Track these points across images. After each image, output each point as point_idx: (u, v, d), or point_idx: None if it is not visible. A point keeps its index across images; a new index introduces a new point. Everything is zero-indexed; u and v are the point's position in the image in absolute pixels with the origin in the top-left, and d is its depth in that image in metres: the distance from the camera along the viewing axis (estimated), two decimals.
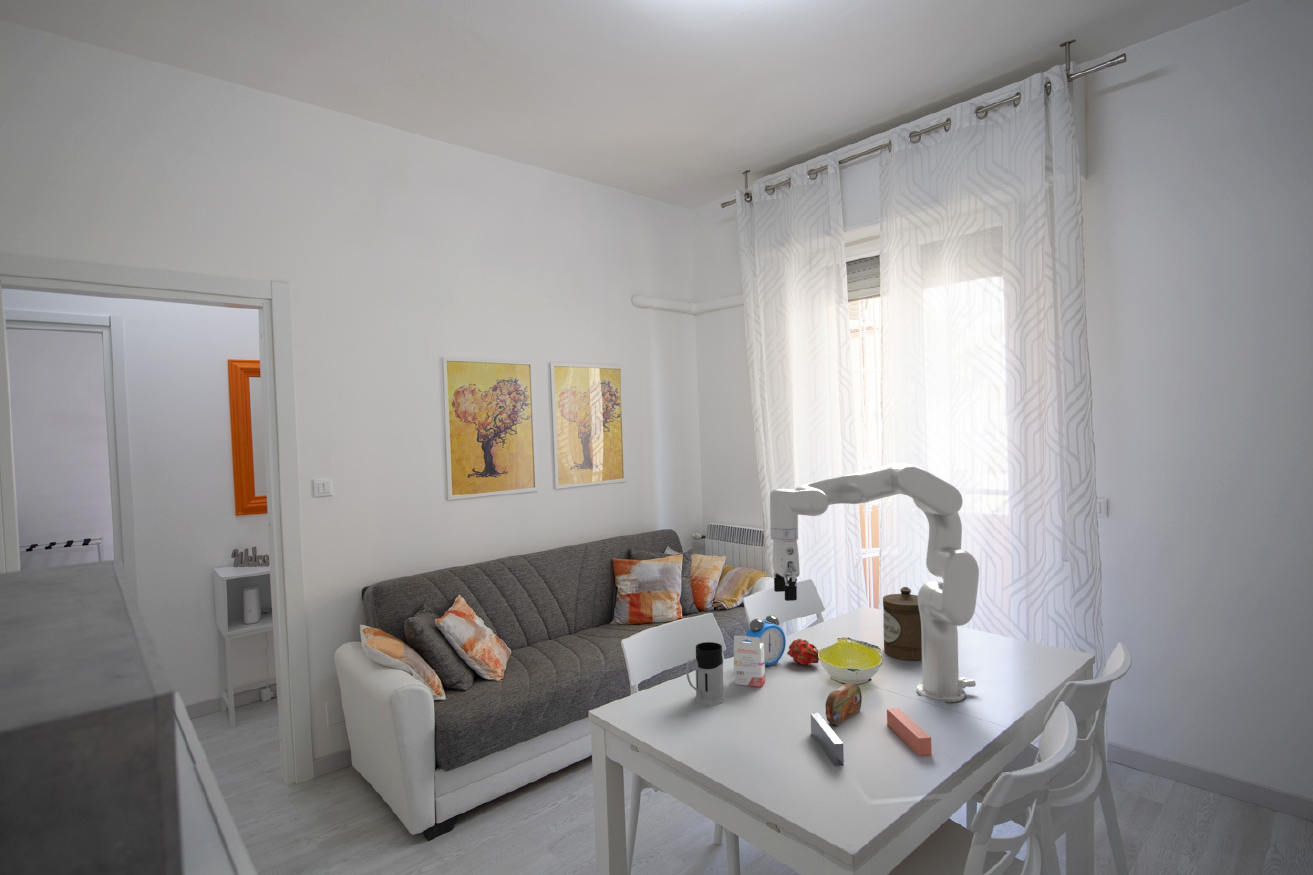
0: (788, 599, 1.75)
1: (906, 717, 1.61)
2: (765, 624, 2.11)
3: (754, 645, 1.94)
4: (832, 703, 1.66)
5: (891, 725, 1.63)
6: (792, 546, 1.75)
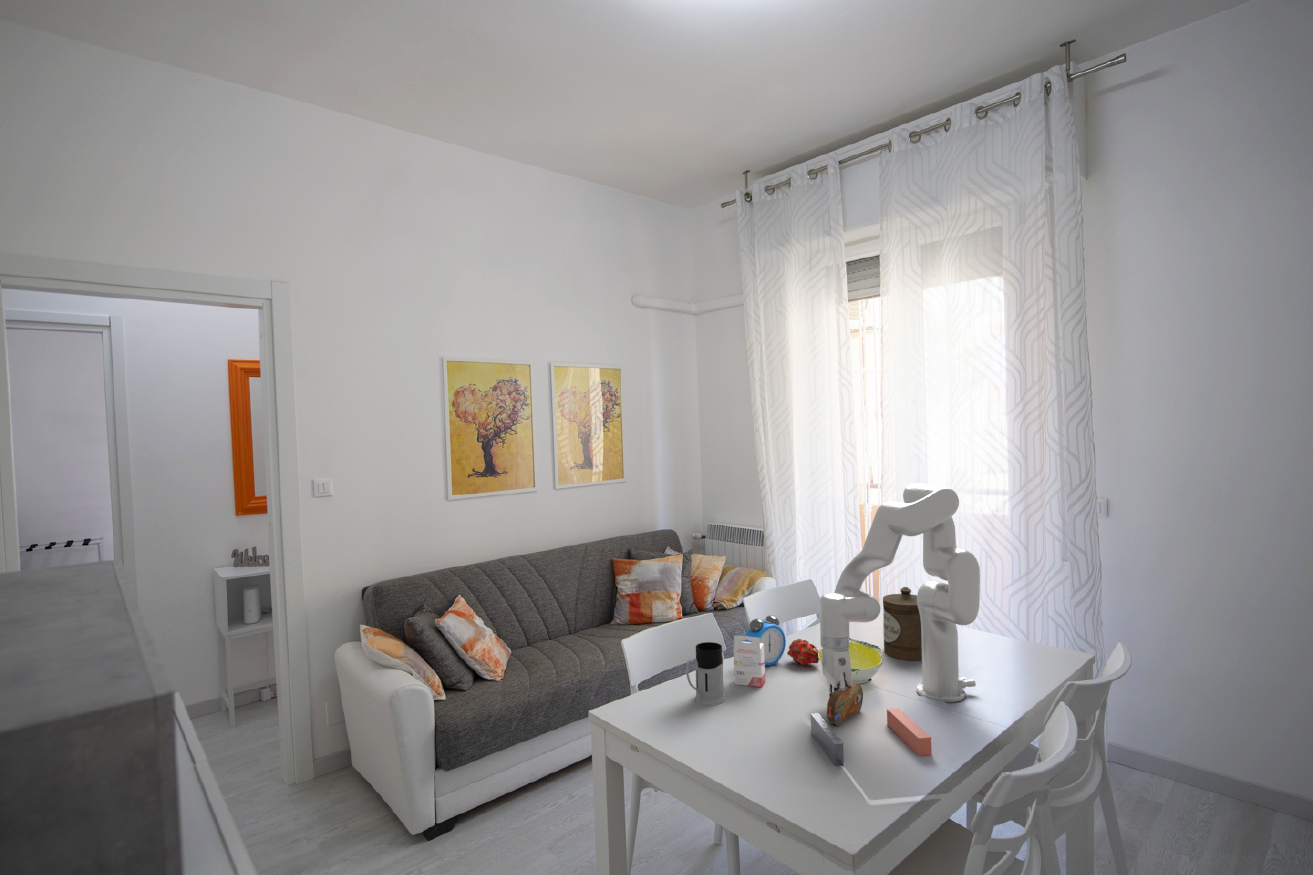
0: None
1: (906, 717, 1.61)
2: (765, 624, 2.11)
3: (754, 645, 1.94)
4: (834, 703, 1.65)
5: (891, 725, 1.63)
6: (844, 656, 1.71)
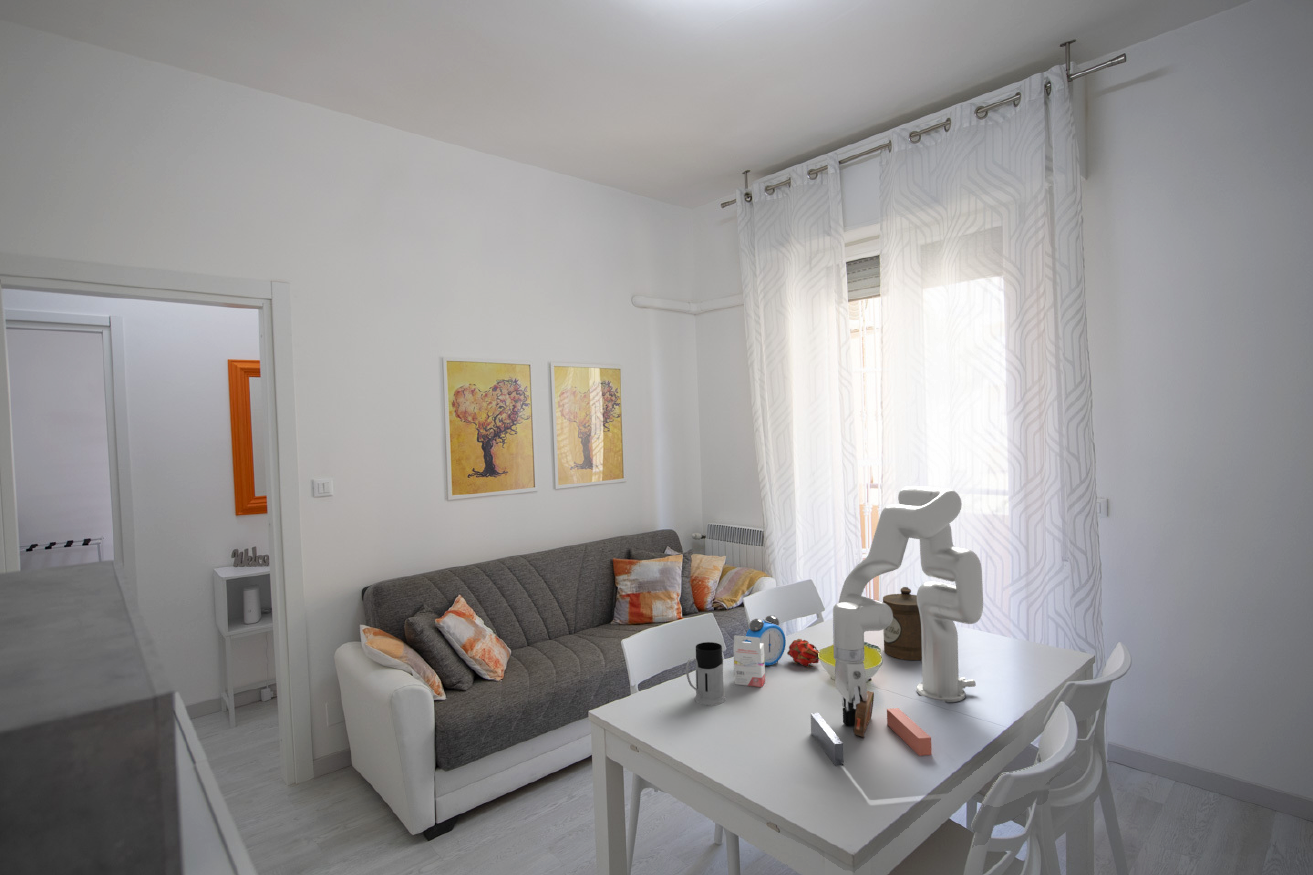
0: (848, 724, 1.65)
1: (906, 717, 1.61)
2: (765, 624, 2.11)
3: (754, 645, 1.94)
4: (863, 715, 1.58)
5: (891, 725, 1.63)
6: (859, 669, 1.61)
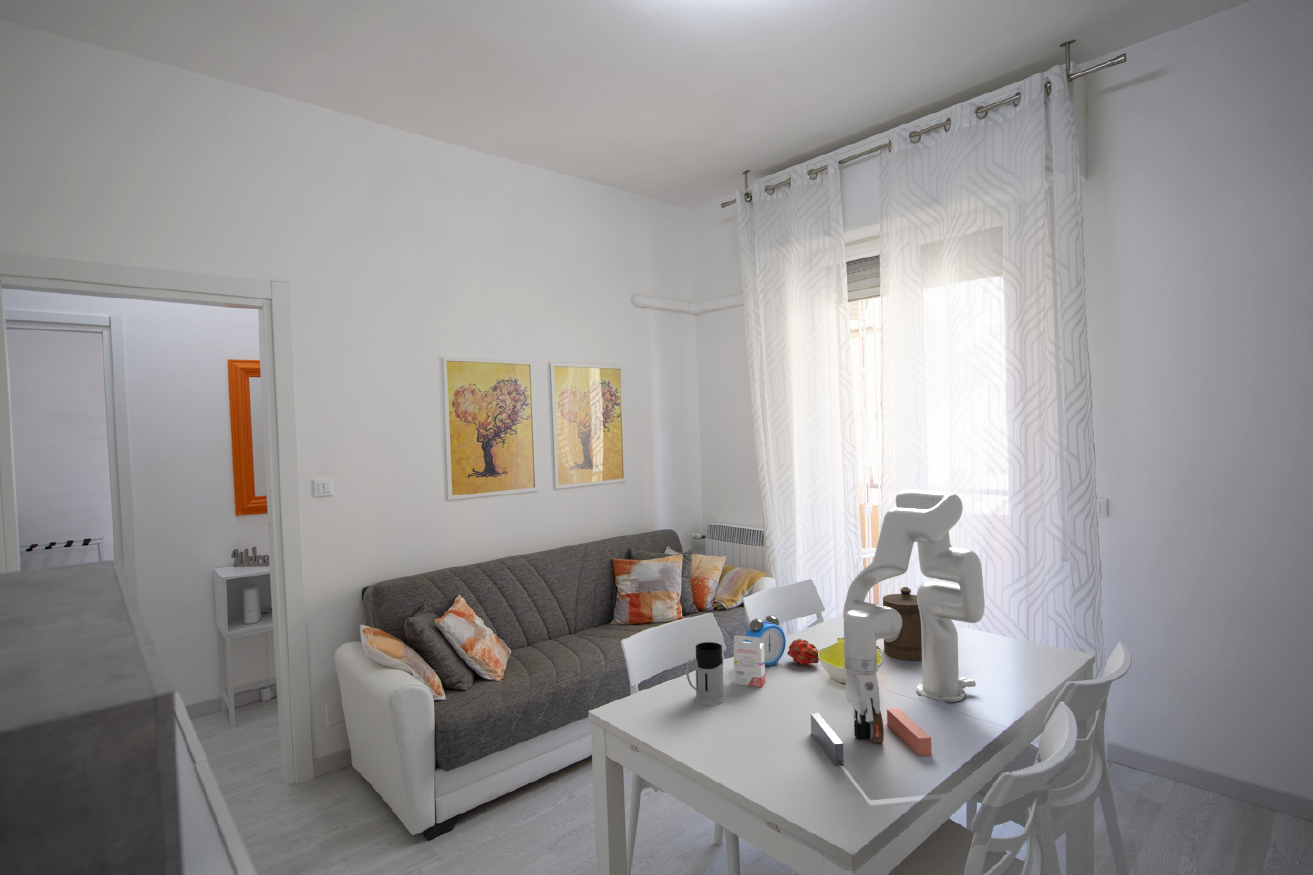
0: (860, 737, 1.58)
1: (906, 717, 1.61)
2: (765, 624, 2.11)
3: (754, 645, 1.94)
4: (880, 720, 1.55)
5: (891, 725, 1.63)
6: (872, 680, 1.54)
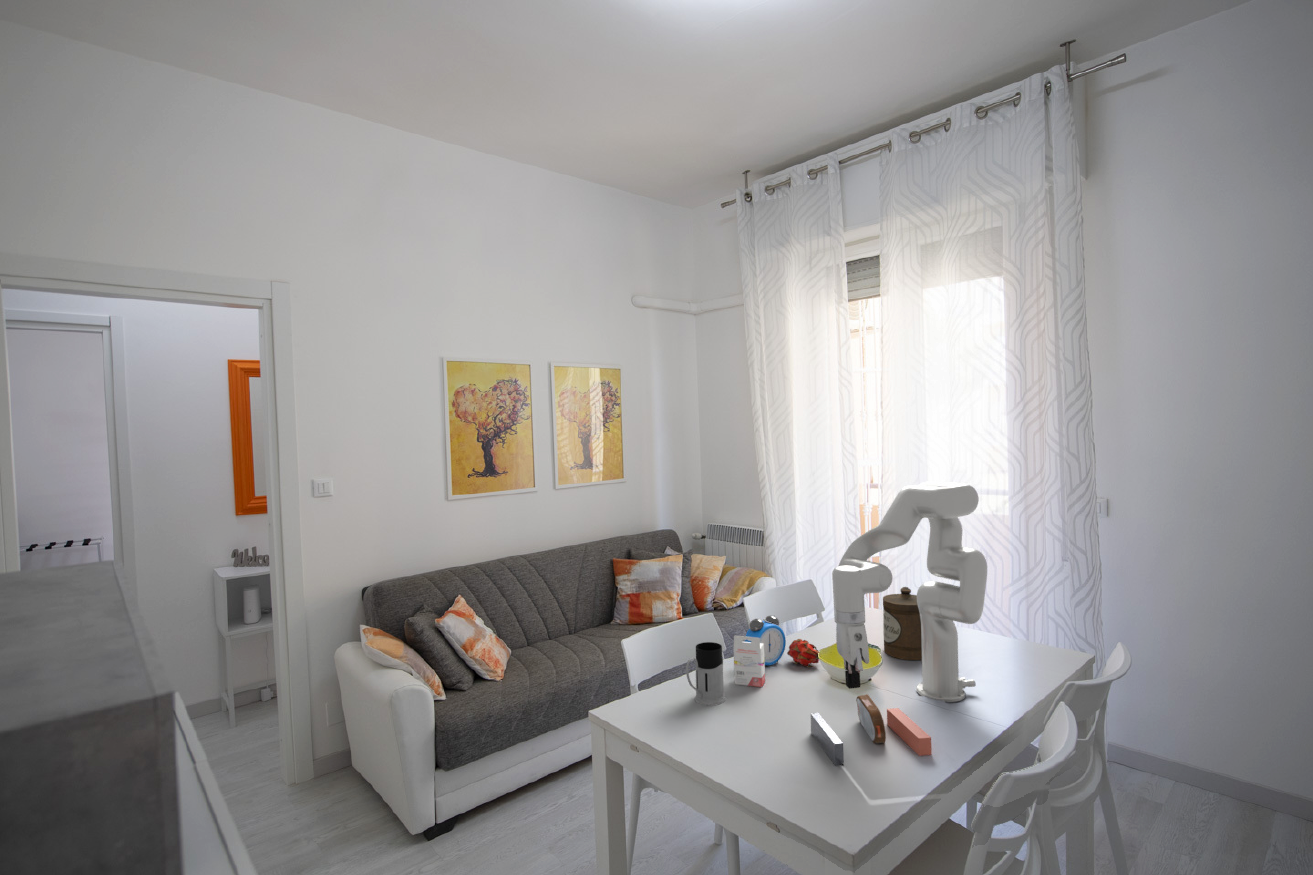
0: (851, 687, 1.65)
1: (906, 717, 1.61)
2: (765, 624, 2.11)
3: (754, 645, 1.94)
4: (880, 720, 1.55)
5: (891, 725, 1.63)
6: (860, 631, 1.61)
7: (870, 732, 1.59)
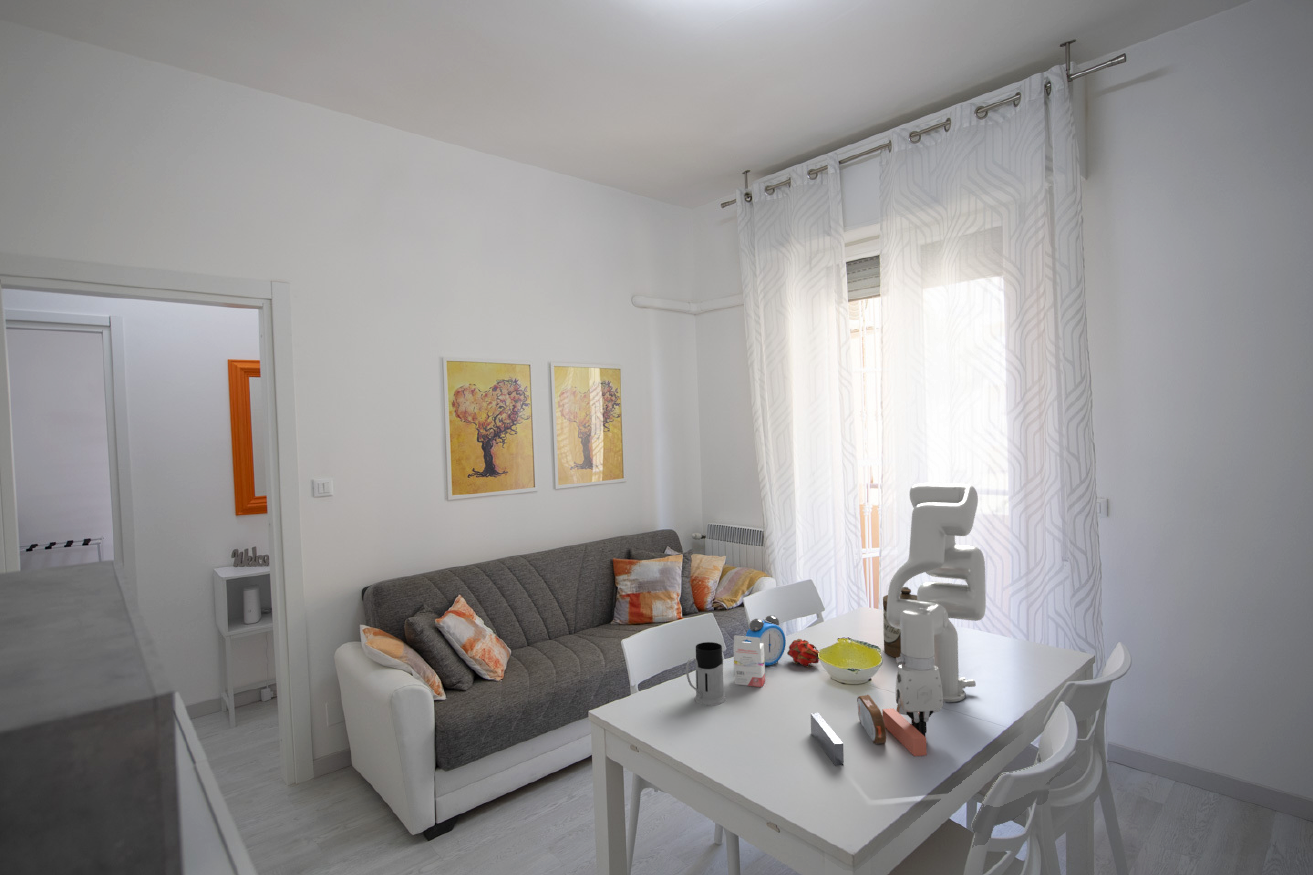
0: None
1: (901, 717, 1.60)
2: (765, 624, 2.11)
3: (754, 645, 1.94)
4: (881, 720, 1.55)
5: (886, 725, 1.63)
6: (900, 674, 1.57)
7: (870, 732, 1.59)
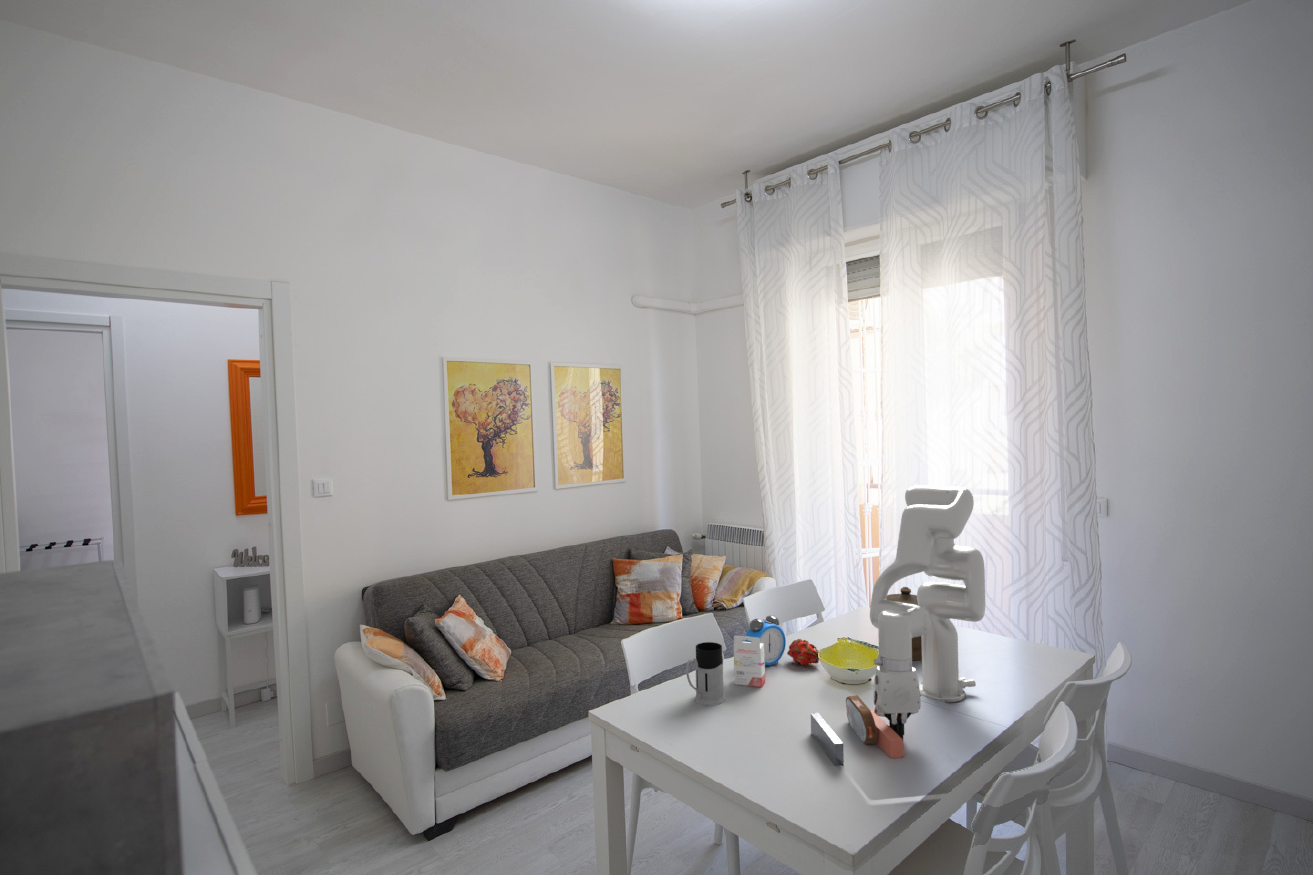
0: None
1: (880, 719, 1.60)
2: (765, 624, 2.11)
3: (754, 645, 1.94)
4: (872, 721, 1.55)
5: None
6: (878, 676, 1.56)
7: (860, 733, 1.59)
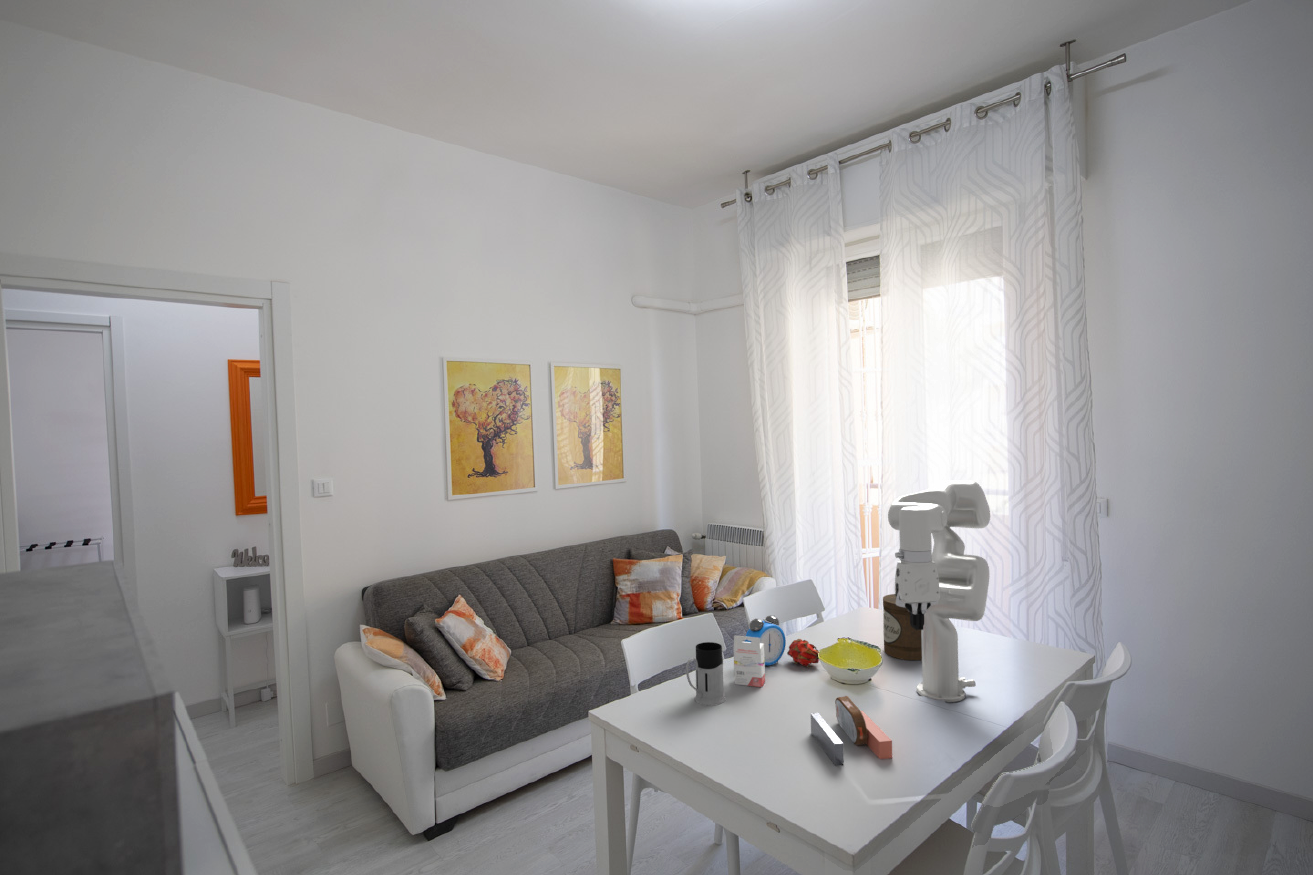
0: (912, 626, 1.66)
1: (869, 720, 1.60)
2: (765, 624, 2.11)
3: (754, 645, 1.94)
4: (863, 722, 1.55)
5: None
6: (899, 568, 1.64)
7: (851, 734, 1.58)
